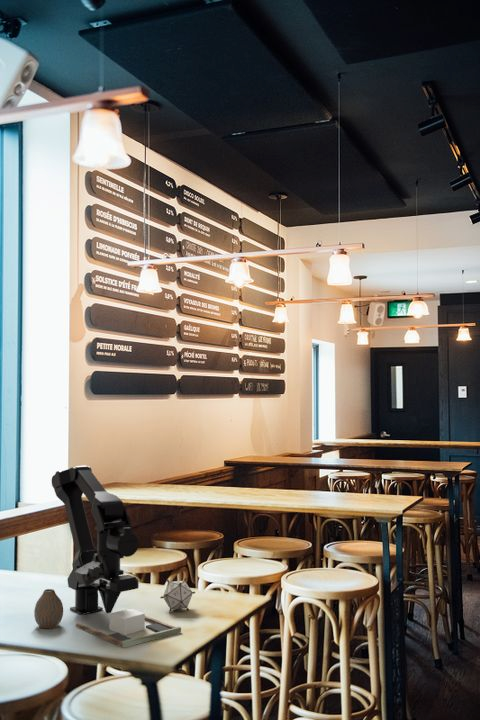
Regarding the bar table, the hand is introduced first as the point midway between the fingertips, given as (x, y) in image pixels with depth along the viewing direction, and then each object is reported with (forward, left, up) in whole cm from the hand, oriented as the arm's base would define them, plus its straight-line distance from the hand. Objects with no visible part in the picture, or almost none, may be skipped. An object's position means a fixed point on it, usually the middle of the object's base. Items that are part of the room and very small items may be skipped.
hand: (108, 612), depth 192 cm
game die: (+4, +19, -2) cm, 19 cm away
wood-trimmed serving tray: (+9, 0, -2) cm, 9 cm away
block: (+9, 0, -2) cm, 9 cm away
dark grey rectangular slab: (+14, 0, -2) cm, 14 cm away
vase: (-6, -13, -2) cm, 15 cm away
